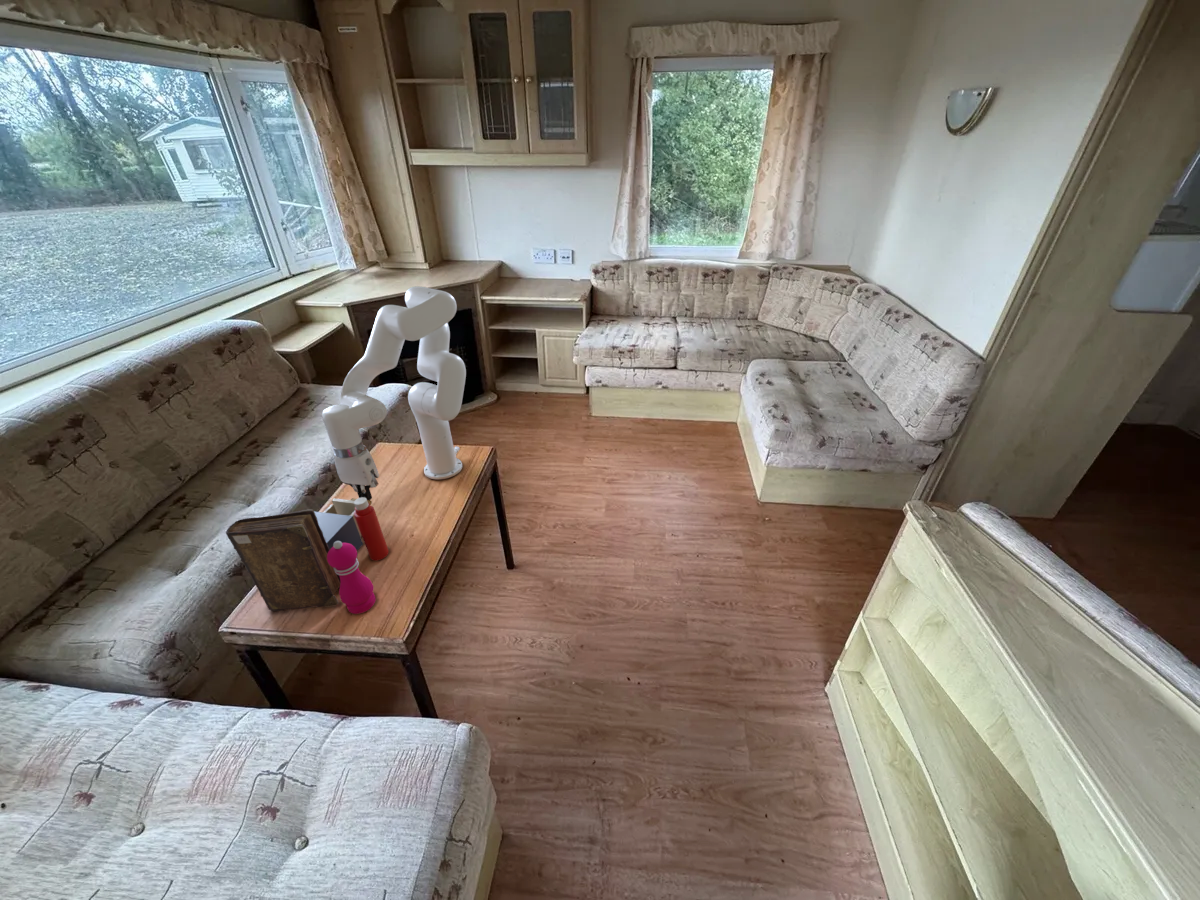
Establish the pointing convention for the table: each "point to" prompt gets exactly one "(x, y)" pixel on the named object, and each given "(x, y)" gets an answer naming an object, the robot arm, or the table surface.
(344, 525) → the dark blue angular piece
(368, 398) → the robot arm
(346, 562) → the pepper mill
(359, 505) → the ketchup bottle
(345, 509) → the drawer
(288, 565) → the book
